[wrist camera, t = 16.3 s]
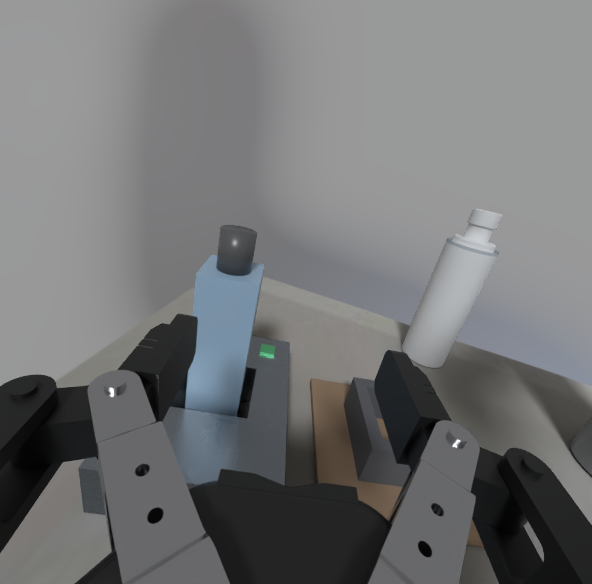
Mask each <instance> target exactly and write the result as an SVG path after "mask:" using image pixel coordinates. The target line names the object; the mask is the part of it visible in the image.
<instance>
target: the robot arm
mask: <svg viewBox="0 0 592 584" xmlns="http://www.w3.org/2000/svg"><path fill="white" fill-rule="evenodd" d="M197 326H198V318H197V317H195V316H190V315H184V314H177V315H176V317H175V318H174V319H173V321H172V322H171V323H170V325H169V324H163V323H162V324H160V325H158V326H156V327H154V328H153V329H151V330H150V331H149V332H148V334H147V335H146V336H145V337H144V339H143V340H142V341H141V342H140V343H139V345H138V346H137V347H136V348H135V349H134V350H133V352H132V353H131V354H130V355H129V356H128V358H127V359H126V360H125V361H124V362H123V364H122V365H121V366H120V367H119V368H118V370H115V371H110V372H107V373H104V374H102V375H100V376H98V377H97V378H95V379H94V380H93V381H92V382H91V383H90V385H88V386H80V387H67V388H57V387H56V382H55V380H54V379H52V378H51V377H48V376H45V375H29V376H23V377H20V378H16V379H14V380H11V381H9V382H7V383H5V384H3V385H2V386H0V553H1V551H2V550H3V548H4V547H5V546H6V544H7V543H8V541H9V540H10V538H11V537H12V535H13V534H14V532H15V531H16V530H17V528H18V527H19V525H20V524H21V522H22V521H23V519H24V518H25V516H26V515H27V514H28V512H29V511H30V509H31V508H32V506H33V505H34V503H35V502H36V500H37V499H38V497H39V496H40V495H41V493H42V492H43V490H44V489H45V487H46V486H47V484H48V483H49V481H50V480H51V479H52V477H53V476H54V474H55V473H56V471H57V470H58V468H59V467H60V465H61V464H62V463H63V462H66V461H73V460H79V459H86V458H92V457H96V460H97V466H98V472H99V478H100V484H101V490H102V496H103V502H104V508H105V514H106V521H107V527H108V534H109V540H110V546H111V553H110V554H109V555H108V556H107V557H105V558H104V559H103V560H102V561H101V562H100V563H98V564H97V565H96V566H95V567H94V568H93V569H91V570H90V571H89V572H88V573H87V574H86V575H84V576H83V577H82V578H81V579H80V580H79V581H77V582H76V583H75V584H459V580H460V575H461V570H462V565H463V560H464V555H465V550H466V545H467V540H468V536H469V531H470V526H471V521H472V520H473V522H474V524H475V527H476V529H477V532H478V534H479V536H480V539H481V541H482V543H483V546H484V548H485V551H486V553H487V555H488V558H489V560H490V563H491V565H492V567H493V570H494V572H495V575H496V577H497V579H498V582H499V584H592V525H591V524H590V522H589V521H588V520H587V518H586V517H585V516H584V514H583V513H582V511H581V510H580V509H579V507H578V506H577V505H576V503H575V502H574V501H573V499H572V498H571V496H570V495H569V494H568V492H567V491H566V490H565V488H564V487H563V486H562V484H561V483H560V481H559V480H558V479H557V477H556V476H555V475H554V473H553V472H552V471H551V469H550V468H549V467H548V466H547V465H546V464H545V463H544V462H542V461H541V460H540V459H539V458H537V457H536V456H534V455H533V454H531V453H529V452H527V451H525V450H522V449H518V448H510V449H509V450H507V452H506V453H505V455H504V456H500V455H498V454H496V453H493V452H491V451H488V450H486V449H483V448H481V447H479V444H478V442H477V440H476V439H475V437H474V436H473V435H472V434H471V433H470V432H469V431H468V430H466V429H465V428H464V427H462V426H461V425H459V424H457V423H455V422H452V421H451V419H450V417H449V415H448V414H447V412H446V410H445V408H444V406H443V405H442V403H441V401H440V399H439V397H438V396H437V395H436V392H435V390H434V388H433V387H432V385H431V383H430V381H429V380H428V378H427V376H426V375H425V374H424V373H423V372H422V371H421V370H420V369H419V368H418V367H415V366H413V364H412V362H411V360H410V358H409V356H408V355H407V354H406V353H403V352H397V351H391V350H388V351H387V352H386V353H385V355H384V358H383V360H382V363H381V365H380V368H379V370H378V373H377V376H376V378H375V383H374V391H375V395H376V398H377V401H378V405H379V408H380V411H381V414H382V418H383V421H384V424H385V427H386V431H387V434H388V437H389V440H390V444H391V447H392V450H393V453H394V457H395V460H396V463H397V464H404V465H409V467H410V470H411V471H410V473H409V474H408V476H407V478H406V481H405V483H404V485H403V487H402V489H401V491H400V494H399V496H398V498H397V500H396V502H395V504H394V506H393V509H392V511H391V513H390V515H389V517H388V519H386V518H385V517H384V516H383V515H381V514H380V513H379V512H378V511H377V510H375V509H374V508H372V507H371V506H369V505H368V504H366V503H364V502H362V501H360V500H358V494H357V488H356V487H351V486H344V485H336V484H329V483H319V484H312V485H304V486H297V487H287V486H284V485H282V484H279V483H277V482H275V481H272V480H270V479H267V478H265V477H263V476H260V475H258V474H255V473H249V472H242V471H234V470H227V469H221V470H220V474H219V478H218V480H217V481H210V482H207V483H203V484H200V485H198V486H195V487H193V488H191V489H189V490H188V487H187V484H186V482H185V479H184V477H183V474H182V472H181V469H180V466H179V464H178V461H177V459H176V456H175V453H174V451H173V448H172V446H171V443H170V441H169V438H168V435H167V433H166V430H165V428H164V425H163V423H162V422H163V420H164V418H165V416H166V414H167V412H168V410H169V408H170V406H171V404H172V402H173V400H174V398H175V396H176V394H177V392H178V390H179V388H180V386H181V384H182V382H183V380H184V378H185V376H186V374H187V372H188V370H189V368H190V366H191V364H192V362H193V359H194V356H195V352H196V341H197ZM570 446H571V450H572V452H573V454H574V456H575V457H576V459H577V460H578V462H579V463H580V464H581V465H582V466H583V467H584V468H585V470H586V471H588V472H589V473H590V474H591V475H592V417H591V418H590V419H589V420H588V421H587V422H586V424H585V425H584V426H583V427H582V429H581V430H580V431H579V432H578V434H577V435H576V436H575V437H574V438H573V440H572V441H571V444H570ZM527 522H529V524H530V525H531V527H532V529H533V531H534V532H535V534H536V536H537V538H538V539H539V541H540V543H541V545H542V548H543V552H544V562H543V561H542V560H541V558H540V556H539V554H538V552H537V550H536V549H535V547H534V545H533V543H532V541H531V540H530V538H529V536H528V534H527V532H526V530H525V529H524V527H523V526H524V525H525V524H526V523H527Z"/></svg>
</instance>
